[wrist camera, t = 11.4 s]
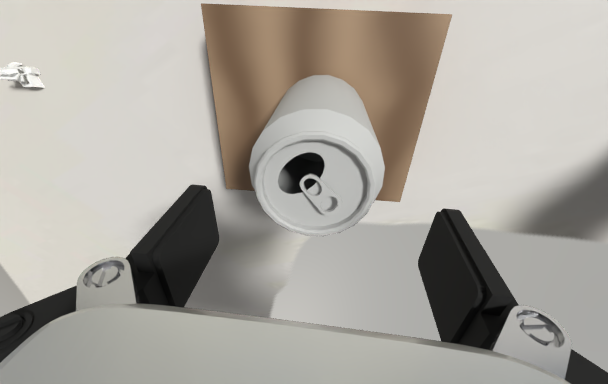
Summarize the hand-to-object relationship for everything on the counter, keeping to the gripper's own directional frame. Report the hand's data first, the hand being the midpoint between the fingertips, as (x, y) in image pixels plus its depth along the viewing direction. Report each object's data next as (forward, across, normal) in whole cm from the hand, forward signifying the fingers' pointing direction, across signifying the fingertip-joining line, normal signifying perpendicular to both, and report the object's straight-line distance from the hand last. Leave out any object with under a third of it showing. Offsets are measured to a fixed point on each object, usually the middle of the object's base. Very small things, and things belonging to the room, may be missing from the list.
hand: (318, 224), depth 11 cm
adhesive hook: (+19, +32, 0) cm, 38 cm away
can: (+15, +1, 0) cm, 15 cm away
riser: (+20, +1, 0) cm, 20 cm away
